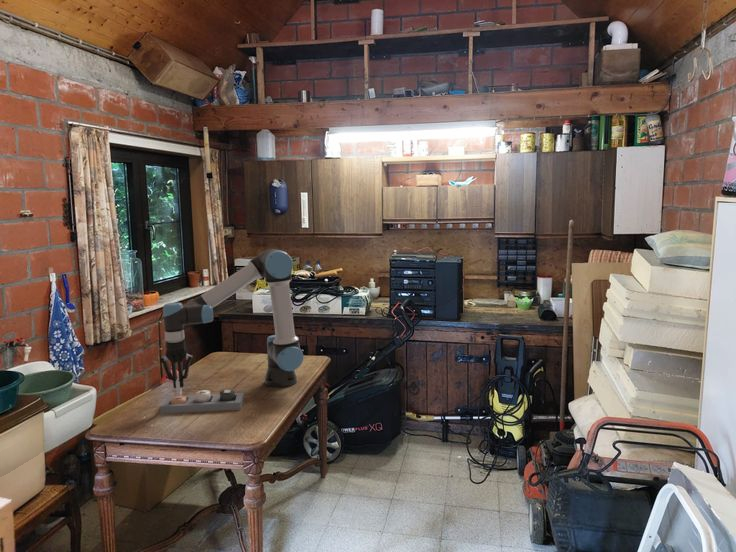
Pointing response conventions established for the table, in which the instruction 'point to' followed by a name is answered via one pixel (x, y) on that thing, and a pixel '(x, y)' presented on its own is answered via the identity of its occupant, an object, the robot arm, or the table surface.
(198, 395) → the button white
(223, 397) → the button black
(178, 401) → the button terracotta
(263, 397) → the table surface
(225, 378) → the table surface
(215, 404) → the panel
